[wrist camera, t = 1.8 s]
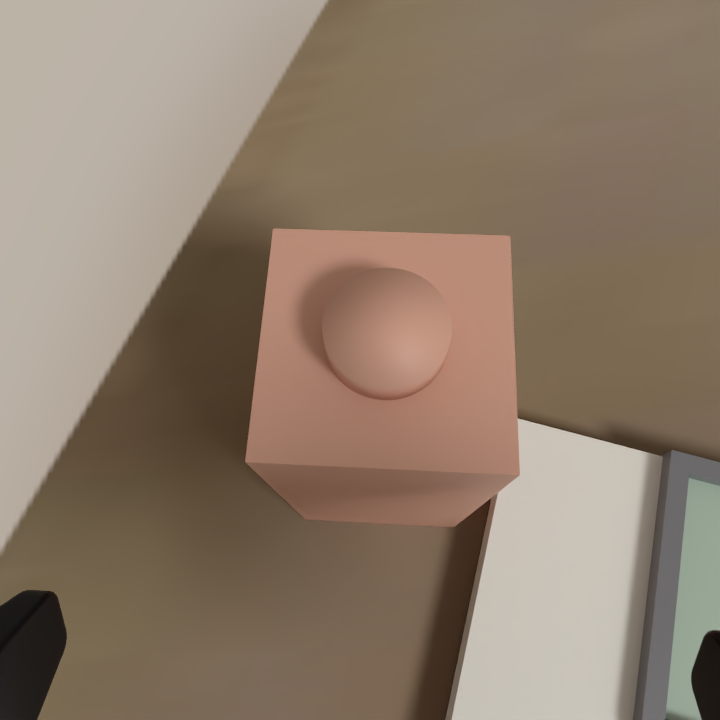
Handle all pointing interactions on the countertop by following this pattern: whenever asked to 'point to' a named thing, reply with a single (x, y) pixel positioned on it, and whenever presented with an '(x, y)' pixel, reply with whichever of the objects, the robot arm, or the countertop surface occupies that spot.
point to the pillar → (386, 375)
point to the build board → (591, 585)
